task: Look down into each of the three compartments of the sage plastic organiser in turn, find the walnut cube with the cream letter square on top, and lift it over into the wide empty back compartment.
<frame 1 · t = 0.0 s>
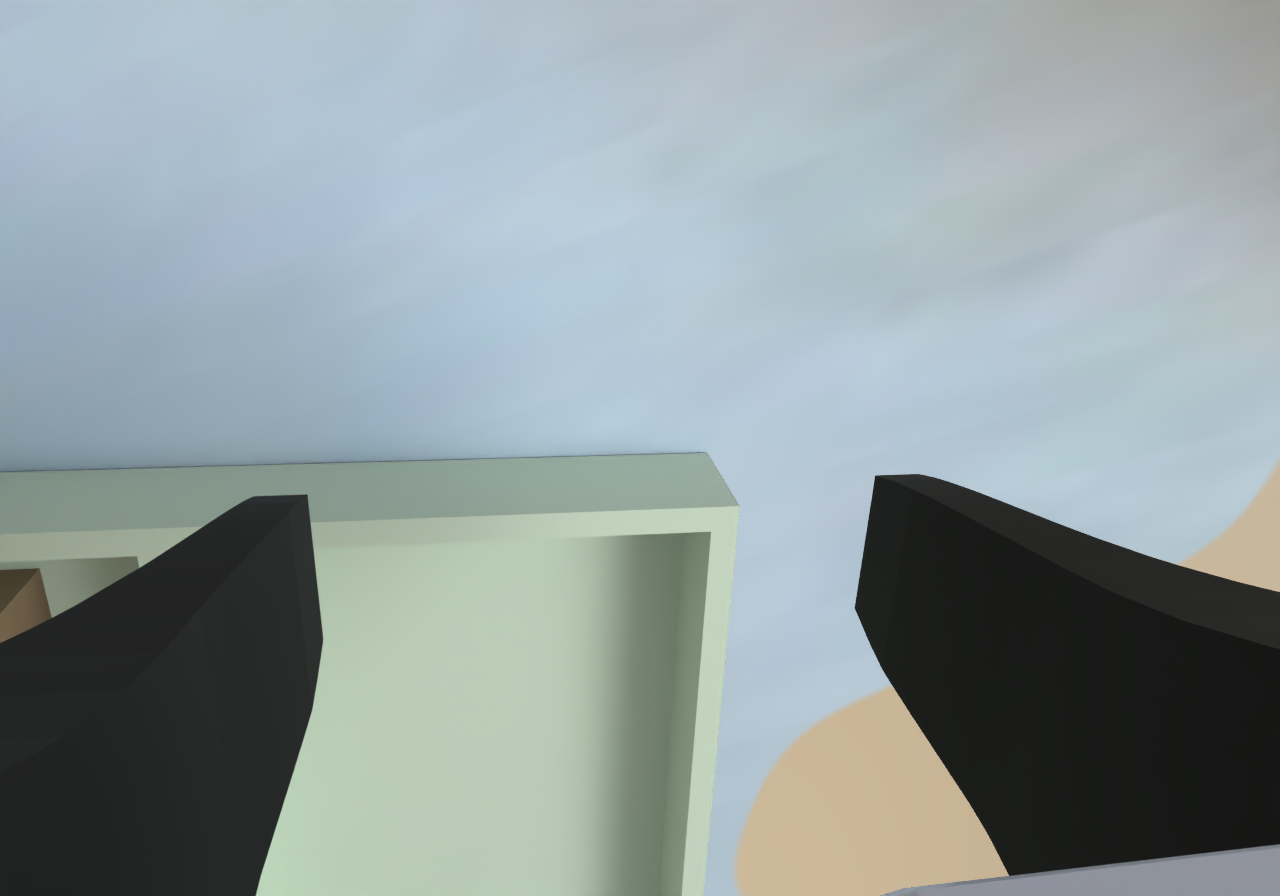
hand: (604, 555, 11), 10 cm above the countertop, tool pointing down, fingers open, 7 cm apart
organiser: (242, 778, 24), on the countertop
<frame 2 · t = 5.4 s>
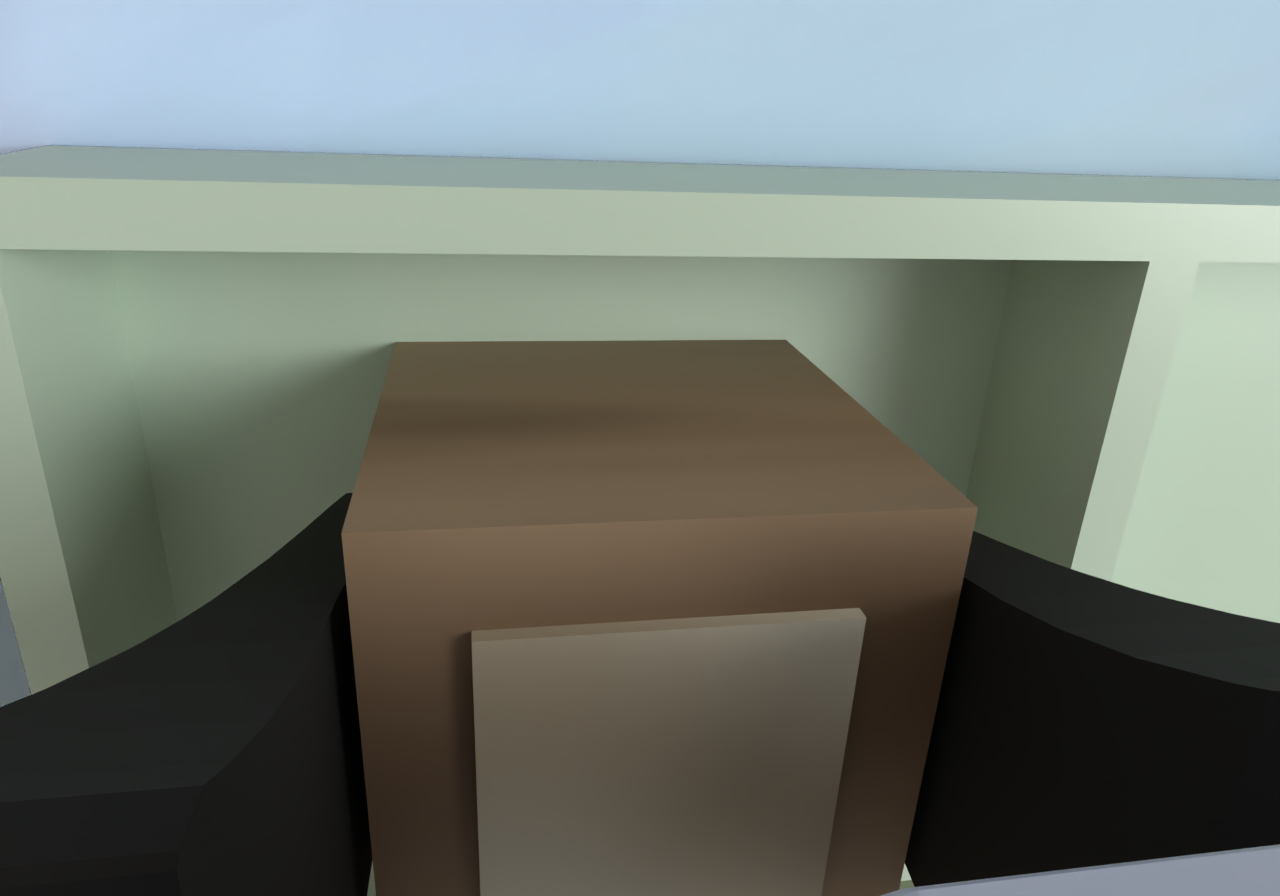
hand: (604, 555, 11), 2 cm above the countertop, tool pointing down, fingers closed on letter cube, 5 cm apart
organiser: (921, 715, 16), on the countertop
letter cube: (593, 516, 12), resting on organiser, touching gripper
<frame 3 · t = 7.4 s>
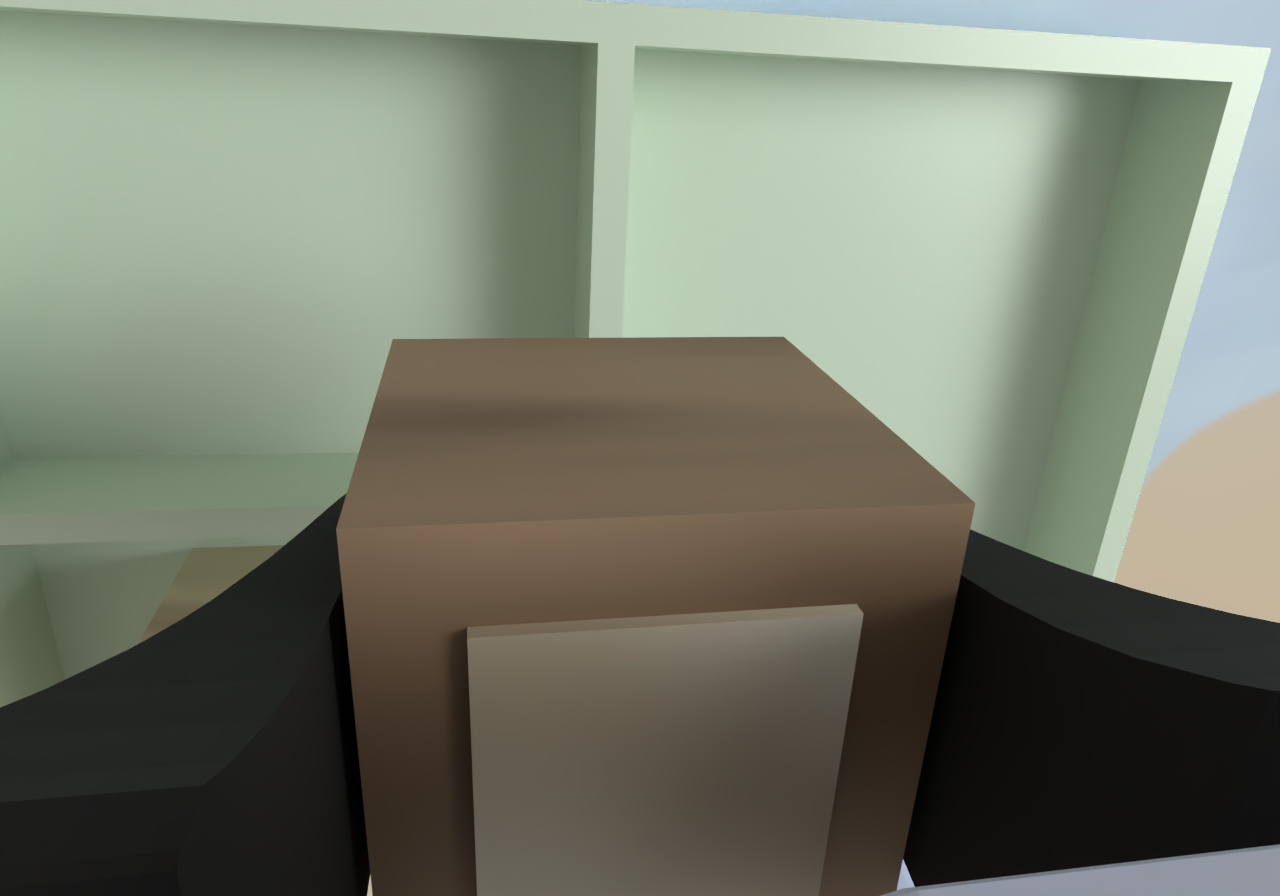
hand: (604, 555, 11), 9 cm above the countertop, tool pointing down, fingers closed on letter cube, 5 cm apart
plain cube: (324, 639, 21), resting on organiser
organiser: (581, 451, 20), on the countertop
letter cube: (591, 513, 12), point 8 cm above the countertop, touching gripper
when the fingers open (3 cm above the countertop, at t = 9.5 s): letter cube drops 1 cm, resting on organiser.
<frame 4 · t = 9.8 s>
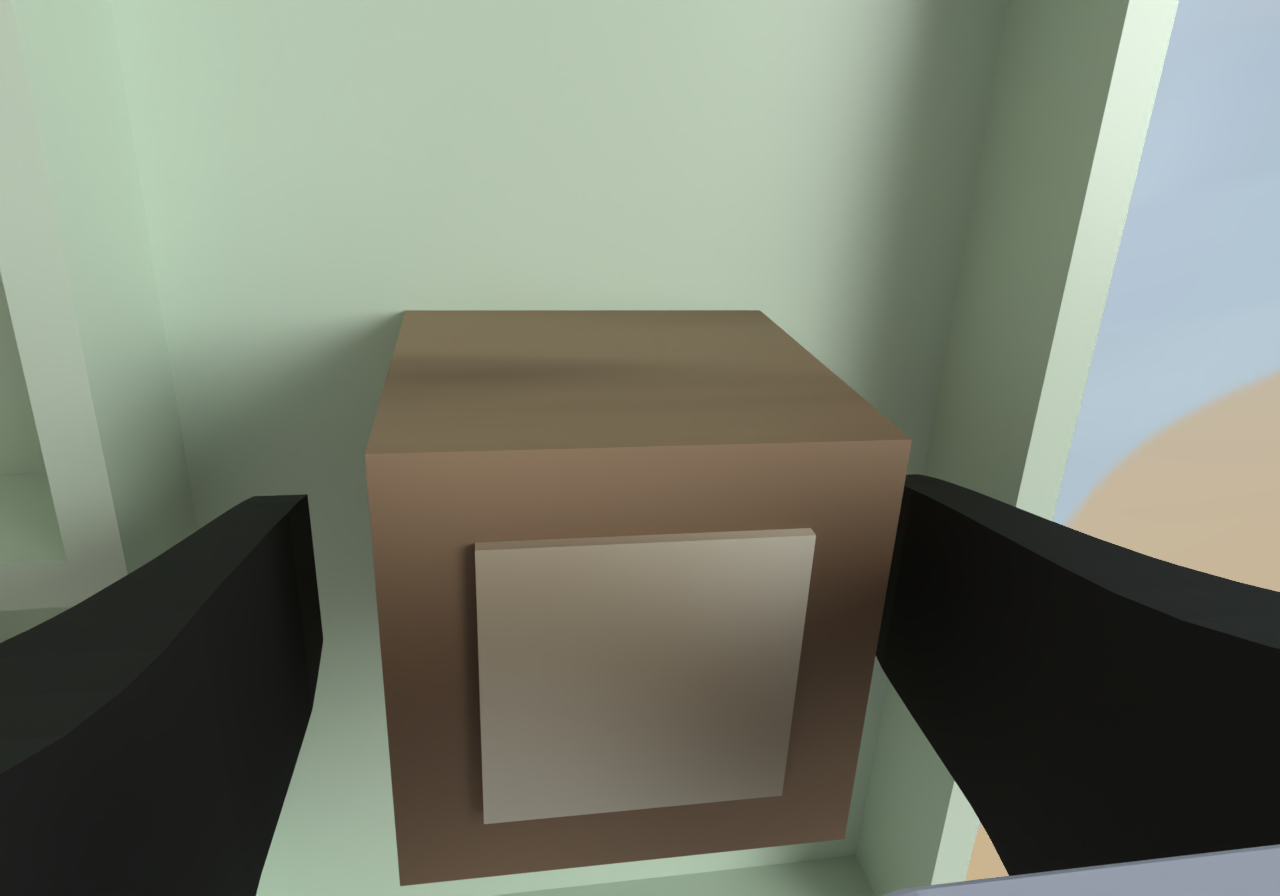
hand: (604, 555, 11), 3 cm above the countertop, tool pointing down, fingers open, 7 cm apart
organiser: (178, 475, 13), on the countertop
letter cube: (585, 472, 14), resting on organiser
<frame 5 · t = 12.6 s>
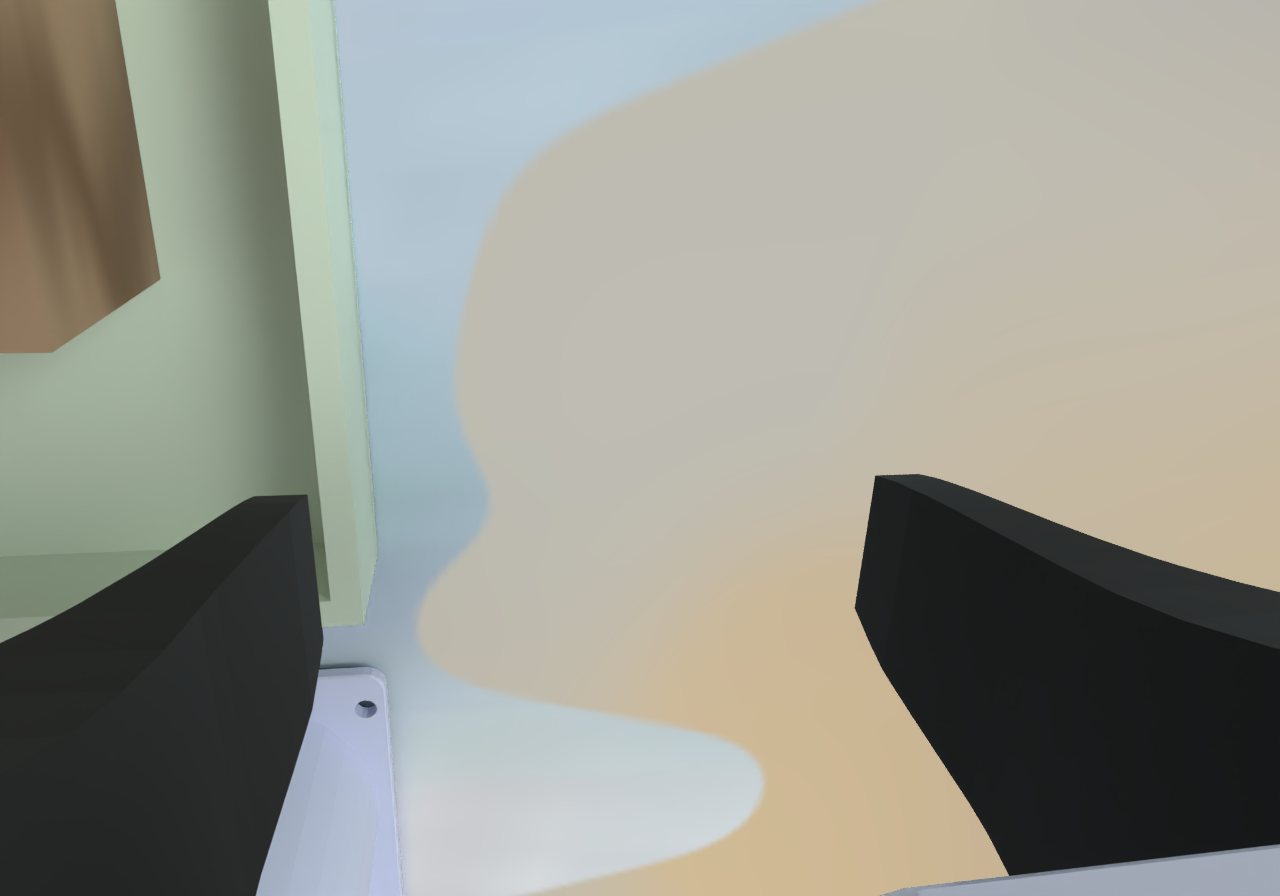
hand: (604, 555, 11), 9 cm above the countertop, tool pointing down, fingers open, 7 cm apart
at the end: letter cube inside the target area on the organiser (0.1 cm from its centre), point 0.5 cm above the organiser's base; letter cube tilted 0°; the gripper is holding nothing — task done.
